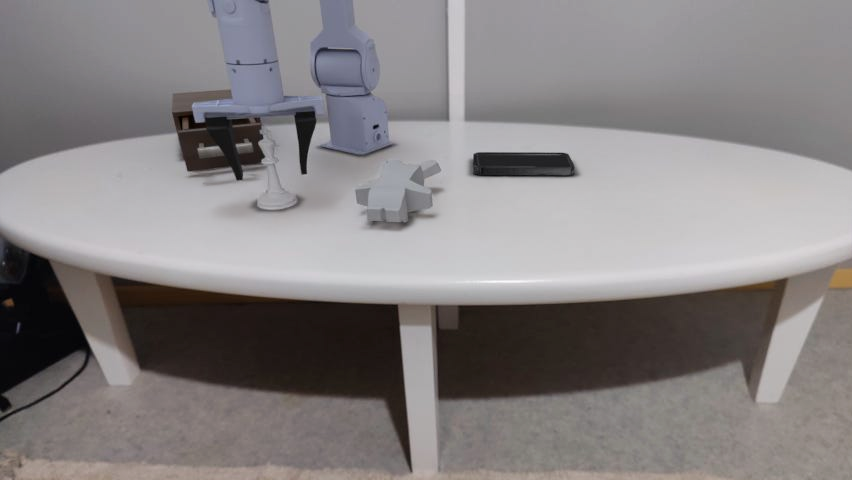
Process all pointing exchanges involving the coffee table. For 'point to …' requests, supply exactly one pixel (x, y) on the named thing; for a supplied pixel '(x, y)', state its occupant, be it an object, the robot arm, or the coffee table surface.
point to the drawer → (207, 153)
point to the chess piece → (273, 178)
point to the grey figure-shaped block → (397, 190)
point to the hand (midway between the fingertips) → (272, 175)
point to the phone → (522, 163)
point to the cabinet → (185, 101)
